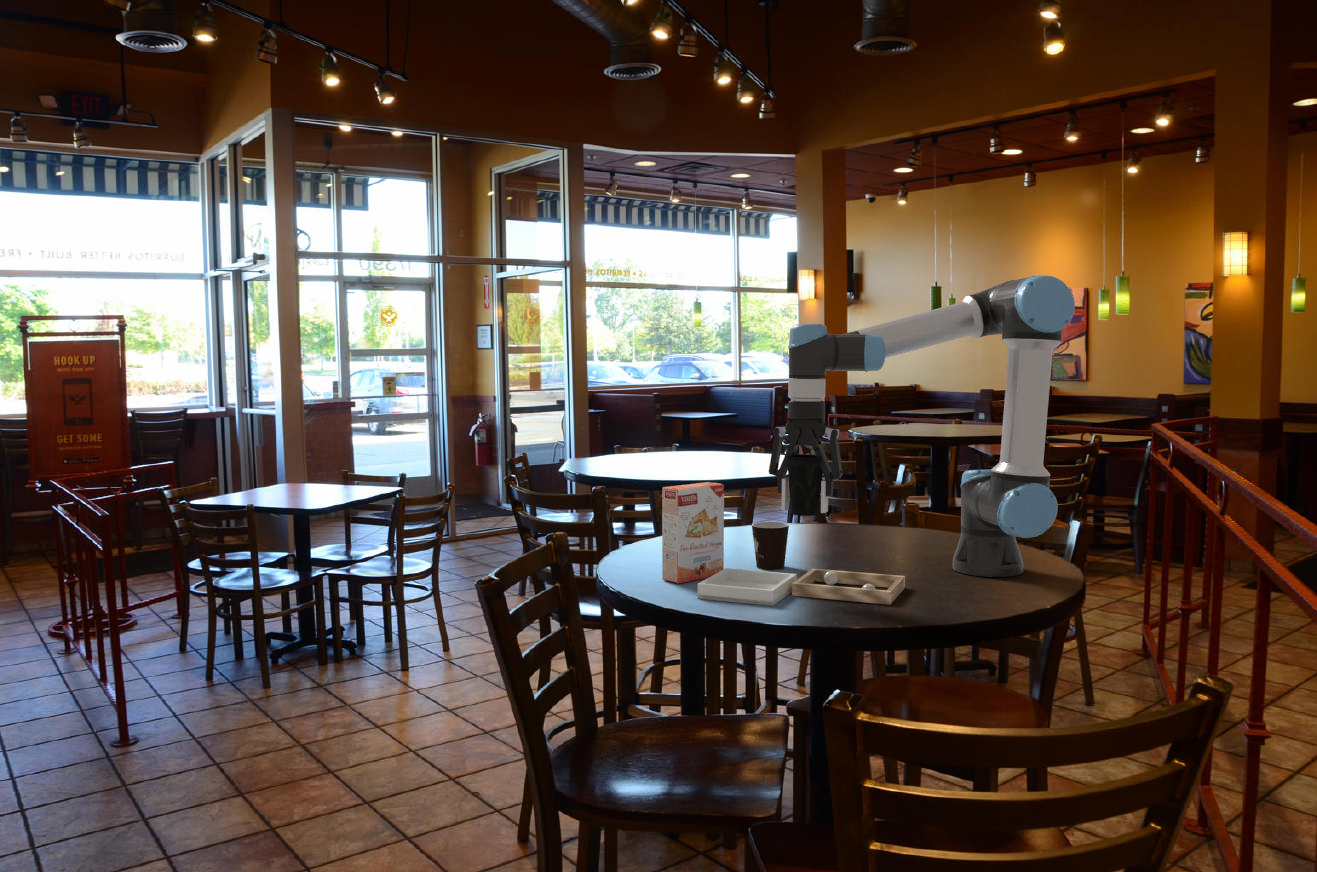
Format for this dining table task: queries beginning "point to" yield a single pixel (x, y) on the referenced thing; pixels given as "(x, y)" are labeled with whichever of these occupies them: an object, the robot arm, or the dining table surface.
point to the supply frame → (809, 589)
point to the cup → (804, 484)
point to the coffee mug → (770, 544)
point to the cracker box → (692, 531)
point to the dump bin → (747, 586)
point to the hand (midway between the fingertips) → (804, 510)
